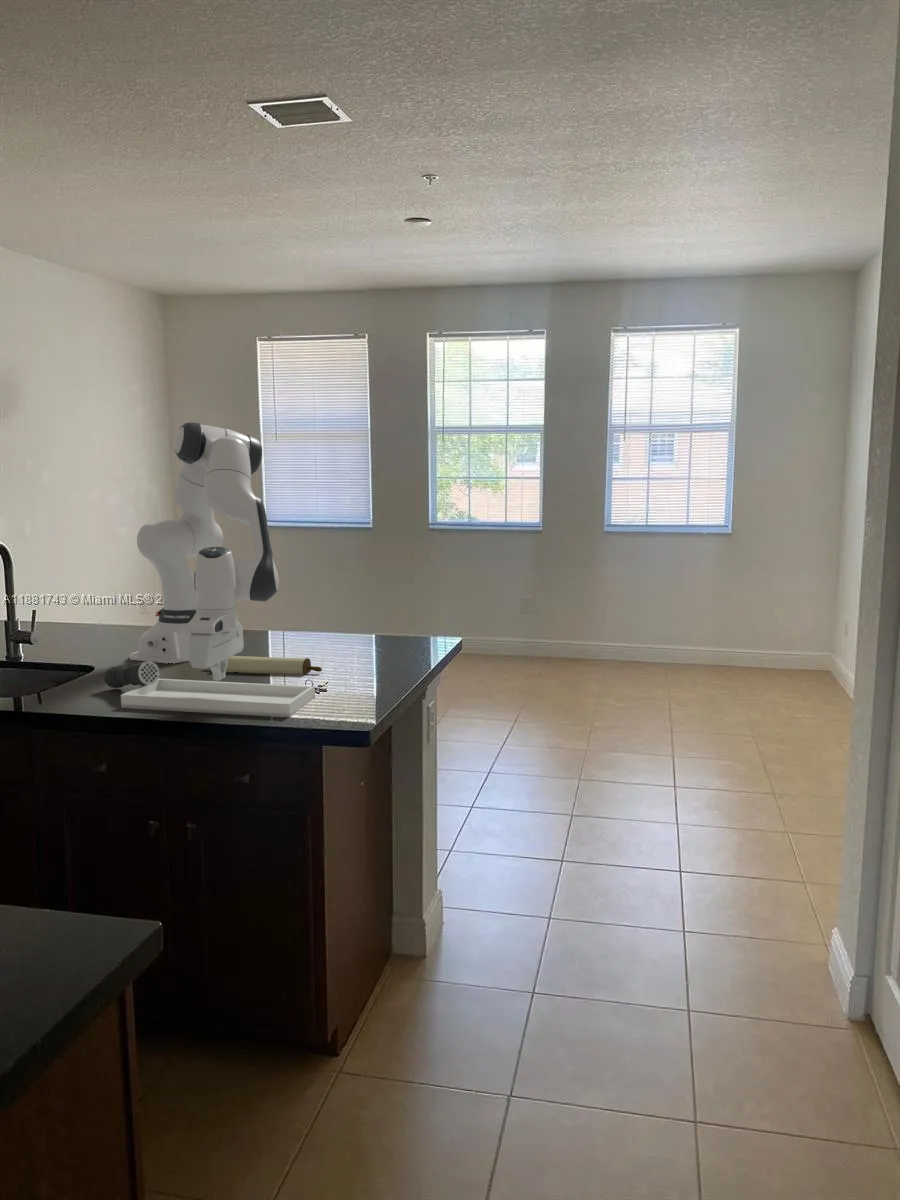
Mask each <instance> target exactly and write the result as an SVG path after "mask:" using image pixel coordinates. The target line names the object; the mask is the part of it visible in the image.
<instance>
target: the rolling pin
mask: <svg viewBox="0 0 900 1200" xmlns="http://www.w3.org/2000/svg"><path fill="white" fill-rule="evenodd" d="M322 669H323V668H322V667H321V666H312V661H311V659H310V658H308V657H305V658H304V657H302V658H299V657H275V656H274V657H273V656H272V657H271V656H270V657H268V656H244V655H233V656H231V657H229V658H228V664H227V668H226V673H234V672H238V673H239V674H240V673H241V674H262V675H263V674H265V675H266V674H267V675H297V676H299V675H300V676H306V675H308V674H309V673H311V671H313V672H314V671H315V672H319V673H320V672H322Z"/></svg>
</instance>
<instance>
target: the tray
mask: <svg viewBox="0 0 900 1200" xmlns="http://www.w3.org/2000/svg"><path fill="white" fill-rule="evenodd" d="M315 698H316V686H313V685H312V686H310V685H294V684H293V685H292V684H272V683H255V682H254V683H252V682H250V683H249V682H236V681H235V682H231V681H214V680H198V679H197V680H194V679H193V680H192V679H178V678H177V679H175V678H174V679H172V678H171V679H170V678H158V680H157V681H156V682H155V683H154V684H150V685H139V686H138V687H136V688H135V687H134V688H133V689H130V690H129V691H126V692H125V693H122V694H120V705H121V707H120V708H121V709H135V710H152V711H169V712H186V713H187V712H188V713H190V712H191V713H200V714H201V713H203V714H221V715H222V714H223V715H240V716H241V715H242V716H256V717H260V716H261V717H275V718H276V717H278V718H291V717H292V716H294V715H295V714H297V712H299V711H300V710H301V709H302V708H304V707H305V706H306V705H308V704H309V703H310V702H311V701H313V700H314V699H315Z"/></svg>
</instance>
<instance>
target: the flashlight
mask: <svg viewBox="0 0 900 1200" xmlns="http://www.w3.org/2000/svg"><path fill="white" fill-rule="evenodd" d="M103 677H104V683H105V684H106V685H107V686H108V687H110V688H112V689H118V688H119V689H120V688H123V687H125V686H126V687H127V686H129V685H133V686H142V685H150V684H154V683H155V682H156V681H157V680H158V679H160V668H159V666H158V664H156V662H151V661H141V662H138V663H135V664H130V665H129V666H120V665H119V666H111V667H110V668H109V669H107V670H106V672H105V674H104V676H103Z"/></svg>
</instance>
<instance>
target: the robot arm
mask: <svg viewBox="0 0 900 1200" xmlns="http://www.w3.org/2000/svg"><path fill="white" fill-rule="evenodd" d="M174 448H175V449H174V451H175V452H174V453H175V454H176V457H177V458H178V460H180V461H182V462H183V463H182V464H181V468H180V471H179V474H178V478H177V481H176V484H175V488H174V491H173V500H174V502H175V504H176V505H177V507H178V508H179V509H180V510H181V511H182V515H181V517H180V518H178V519H163V520H162V519H161V520H157V521H152V522H149V523H146V524H144V525H142V526H141V527H140V528H139V530H138V532H137V536H136V545H137V549H138V550H139V552H140V553H141V555H142V556H143V557H144V558H145V559H147V560H148V561H149V562H150V563H152V565H153V567H154V568H155V569H156V571H157V574H158V576H159V578H160V582H161V588H162V590H161V592H162V598H163V599H162V600H163V608H161V609H160V610H158V611H155V612H154V613H155V615H154V616H155V617H158V621H157V622H156V623H155V624H153V625H152V626H150V628H149V629H147V630H146V631H145V632H143V633H142V634H141V635H140V637H139V638H138V643H137V644H138V645H137V651H135V652H132V653H131V654H129V660H130V661H141V662H147V661H151V662H154V663H159V664H160V663H161V664H168V663H170V665H171V663H173V664H177V663H187V662H189V663H190V666H191V667H192V668H193V669H207V668H209V669H210V671H211V672H212V681H217V682H221V680H224V679H225V678H226V676H227V675H226V674H227V672H226V668H227V664H228V658H229V657H231V656H237V655H238V654H240V653H242V652H243V650H244V634H243V625H242V624H241V622H239V618H238V609H237V608H238V607H237V601H251V602H252V601H253V602H254V601H255V602H263V603H264V602H267V601H268V600H270V599H271V598H273V597H274V596H275V595H276V594H277V593H278V589H279V582H280V580H279V579H280V578H279V573H278V569H277V567H276V563H275V560H274V554H273V549H272V543H271V535H270V530H269V523H268V519H267V517H268V516H267V512H266V508H265V505H264V503H263V501H262V499H261V497H260V498H259V496H256V495H255V493H254V491H253V489H252V481H251V480H252V475H253V474H255V473H256V472H257V471H258V470H259V468H260V465H261V463H262V459H263V446H262V444H261V441H260V440H259V439H257V438H255V437H254V436H252V435H249V434H246V435H245V434H244V433H241V432H238V431H235V430H233V429H229V428H225V427H223V428H222V427H218V426H213V425H206V424H201V423H199V422H192V421H191V422H190V421H189V422H185V423H183V424H182V425H181V426H180V428H179V429H178V431H177V432H176V436H175V438H174ZM214 512H216V513H219V514H220V515H222V516H224V517H227V518H229V519H232V520H235V521H238V522H240V523H242V524H244V525H246V526H248V527H249V528H250V529H251V534H252V538H253V539H252V540H253V544H254V551H255V552H254V553H255V555H254V557H252V558H241V559H239V558H236V559H235V558H234V557H233V552H232V550H231V549H229V548H226V547H223V546H222V545H223V541H224V534H223V531H222V528H221V526H220V525H219V524H218V523H217V522H216V520H215V514H214ZM193 558H196V562H195V571H192V570H191V568H190V566H189V562H188V559H193ZM186 661H187V662H186Z"/></svg>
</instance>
